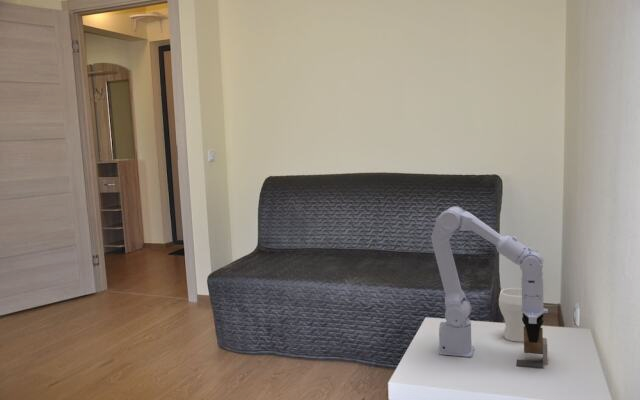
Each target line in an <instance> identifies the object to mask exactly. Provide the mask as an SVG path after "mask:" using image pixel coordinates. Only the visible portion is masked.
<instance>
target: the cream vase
mask: <svg viewBox="0 0 640 400" xmlns="http://www.w3.org/2000/svg"><path fill="white" fill-rule="evenodd" d="M498 306H499V307H498V308H499V310H500V313H501V315H502V316H503V318H504V319H503V320H504V325H505V328H504V332H503V333H504V335H503V337H504V338H505V340H508V341H511V342H524V326H525V325H524V323H523V321H522V317H523V312H522V311H521V308H522V287H520V288H519V287H509V288H507V287H506V288H503V289H501V290H500V293H499V297H498Z"/></svg>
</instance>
